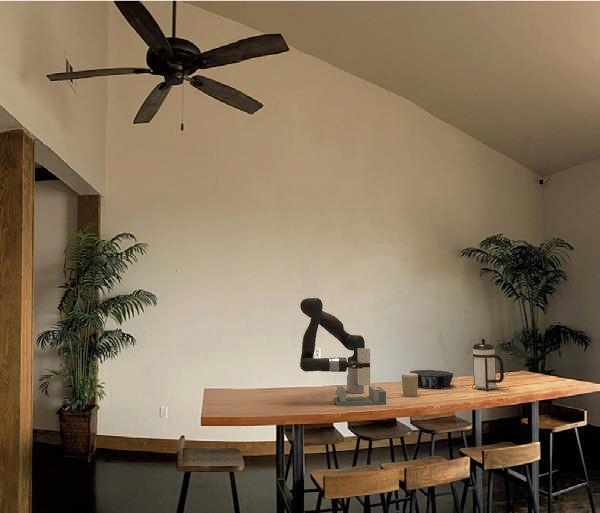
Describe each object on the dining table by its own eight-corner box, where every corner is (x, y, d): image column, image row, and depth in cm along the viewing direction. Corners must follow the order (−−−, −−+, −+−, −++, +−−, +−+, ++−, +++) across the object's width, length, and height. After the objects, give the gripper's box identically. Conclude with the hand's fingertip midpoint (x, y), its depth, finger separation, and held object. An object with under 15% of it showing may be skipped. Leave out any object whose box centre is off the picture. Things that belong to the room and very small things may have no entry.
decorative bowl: (423, 394, 308) (424, 377, 308) (401, 383, 334) (401, 367, 334) (461, 391, 316) (461, 374, 316) (436, 380, 342) (436, 365, 342)
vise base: (336, 405, 269) (336, 391, 270) (333, 399, 284) (332, 385, 285) (386, 404, 271) (386, 389, 272) (380, 398, 286) (379, 384, 287)
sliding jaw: (340, 401, 271) (340, 390, 271) (337, 397, 284) (336, 386, 284) (346, 401, 271) (345, 390, 271) (342, 396, 284) (342, 386, 284)
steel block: (359, 385, 276) (359, 349, 278) (357, 383, 281) (357, 348, 282) (370, 385, 276) (370, 349, 278) (368, 383, 281) (368, 348, 282)
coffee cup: (419, 394, 297) (418, 373, 298) (418, 397, 288) (417, 375, 289) (402, 393, 300) (402, 372, 301) (401, 396, 291) (400, 375, 292)
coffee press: (473, 391, 304) (471, 339, 307) (470, 386, 320) (469, 337, 322) (504, 392, 300) (502, 340, 302) (500, 387, 316) (499, 337, 318)
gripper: (339, 359, 272) (371, 359, 273) (335, 356, 286) (366, 356, 287) (339, 373, 271) (371, 373, 272) (335, 369, 285) (366, 369, 286)
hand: (368, 364), depth 279 cm, fingers closed on steel block, 4 cm apart
